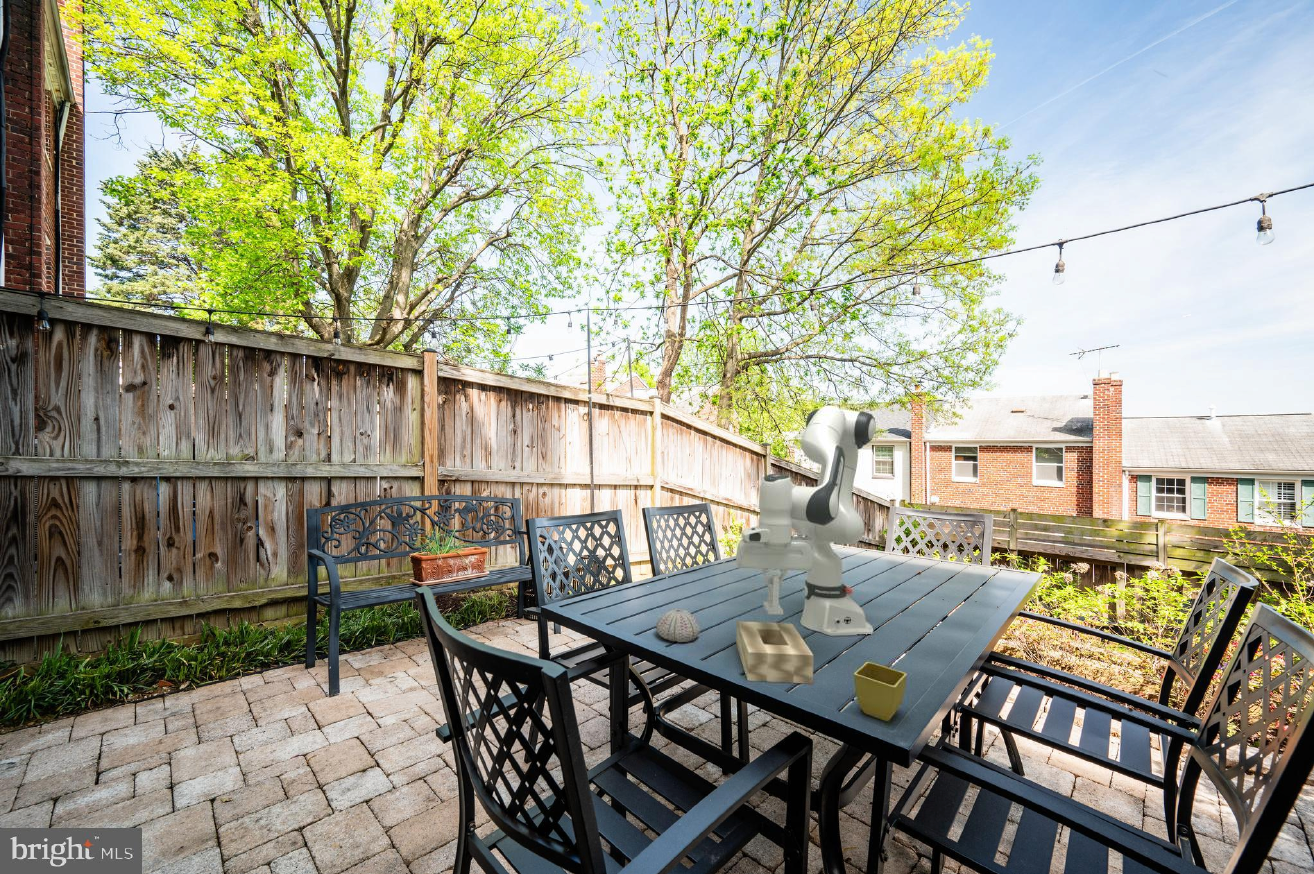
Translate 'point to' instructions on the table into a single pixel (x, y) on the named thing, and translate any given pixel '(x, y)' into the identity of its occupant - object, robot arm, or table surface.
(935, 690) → the table surface
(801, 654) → the well block
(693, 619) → the sea urchin shell
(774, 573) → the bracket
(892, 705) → the flower pot
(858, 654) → the table surface
